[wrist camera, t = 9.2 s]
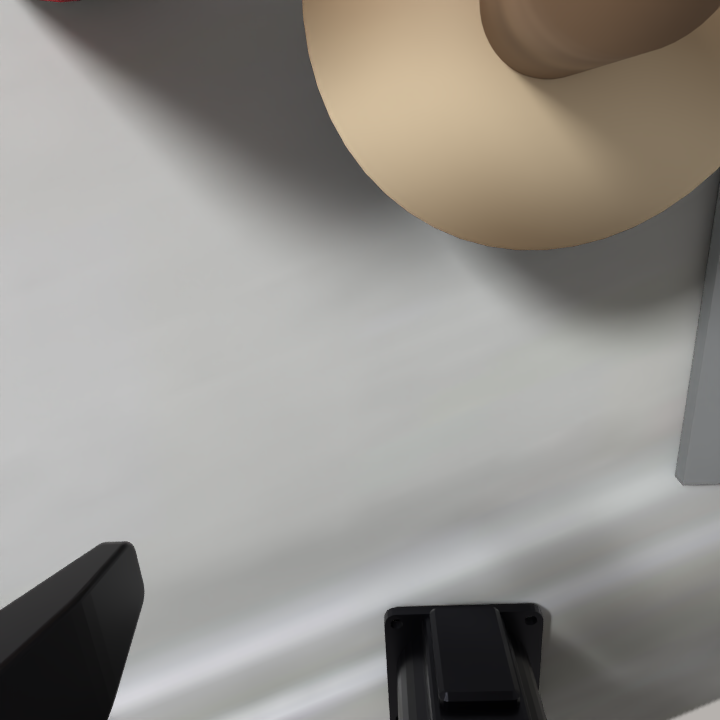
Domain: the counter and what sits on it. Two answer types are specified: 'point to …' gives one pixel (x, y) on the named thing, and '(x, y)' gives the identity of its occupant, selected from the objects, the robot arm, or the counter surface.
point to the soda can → (61, 0)
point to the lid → (524, 109)
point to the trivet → (704, 382)
